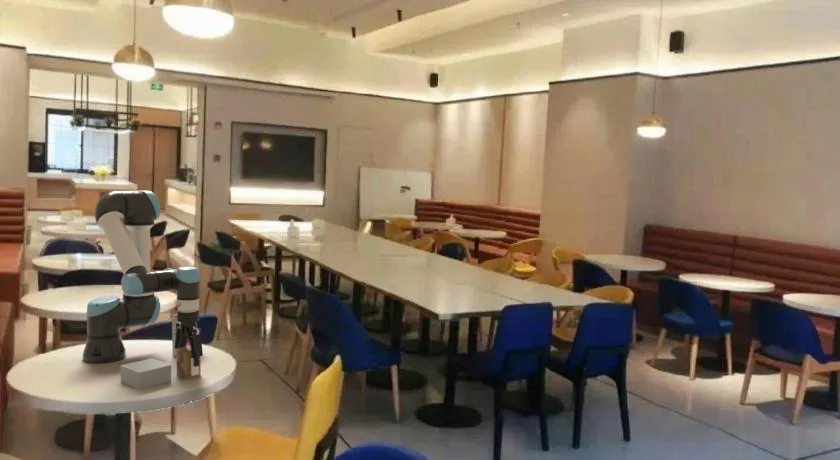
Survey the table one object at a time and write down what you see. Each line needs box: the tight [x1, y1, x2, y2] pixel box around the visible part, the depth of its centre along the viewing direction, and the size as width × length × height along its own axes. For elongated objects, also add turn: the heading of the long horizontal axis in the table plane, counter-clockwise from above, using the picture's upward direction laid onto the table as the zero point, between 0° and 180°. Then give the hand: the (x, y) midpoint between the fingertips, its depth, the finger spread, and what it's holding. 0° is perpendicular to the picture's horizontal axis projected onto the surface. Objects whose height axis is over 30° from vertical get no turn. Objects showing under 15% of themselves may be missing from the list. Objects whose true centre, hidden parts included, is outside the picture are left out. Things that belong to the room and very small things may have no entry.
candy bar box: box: [171, 313, 198, 357], centre depth 277 cm, size 11×5×16 cm, turn 168°
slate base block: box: [120, 358, 172, 390], centre depth 242 cm, size 12×12×6 cm
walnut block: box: [176, 346, 202, 380], centre depth 249 cm, size 6×6×10 cm
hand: (188, 371), depth 250 cm, fingers open, 8 cm apart
